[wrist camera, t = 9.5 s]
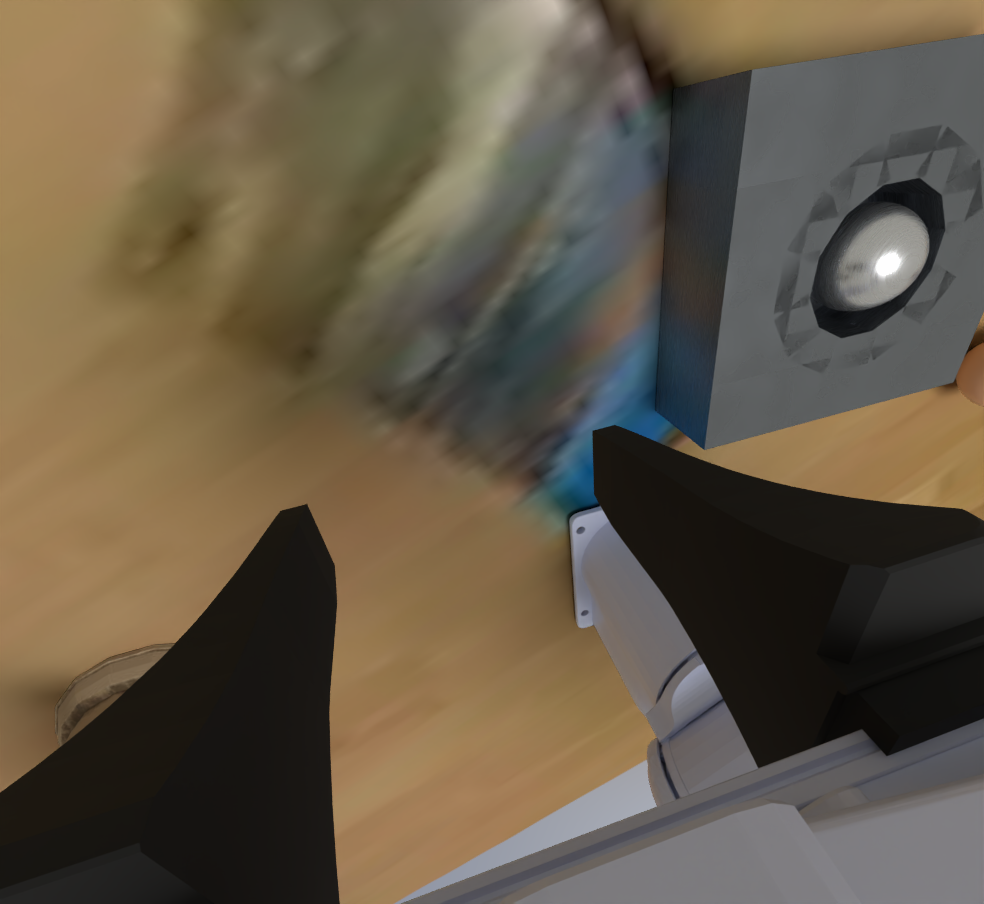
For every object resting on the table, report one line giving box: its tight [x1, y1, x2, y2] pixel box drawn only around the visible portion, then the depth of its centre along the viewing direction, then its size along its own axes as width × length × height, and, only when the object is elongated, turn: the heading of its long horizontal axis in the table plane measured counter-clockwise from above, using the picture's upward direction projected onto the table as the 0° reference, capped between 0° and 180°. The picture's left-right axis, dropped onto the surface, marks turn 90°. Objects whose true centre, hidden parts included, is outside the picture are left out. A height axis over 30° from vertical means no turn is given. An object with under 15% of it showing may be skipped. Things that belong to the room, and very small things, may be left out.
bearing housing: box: [655, 34, 984, 450], centre depth 20 cm, size 13×13×4 cm
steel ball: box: [810, 202, 929, 311], centre depth 19 cm, size 4×4×4 cm
